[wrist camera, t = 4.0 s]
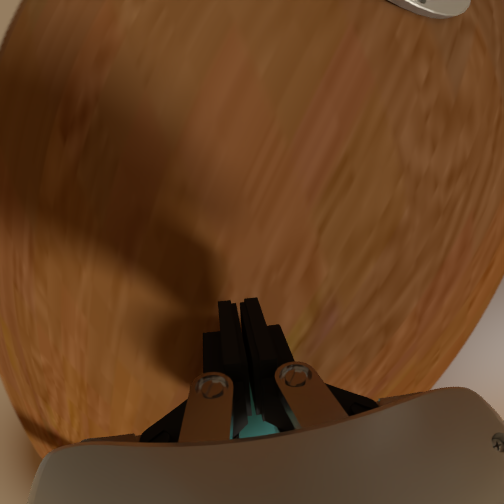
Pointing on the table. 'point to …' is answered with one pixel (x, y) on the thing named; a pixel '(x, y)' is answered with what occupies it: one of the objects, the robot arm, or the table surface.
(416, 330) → the table surface
